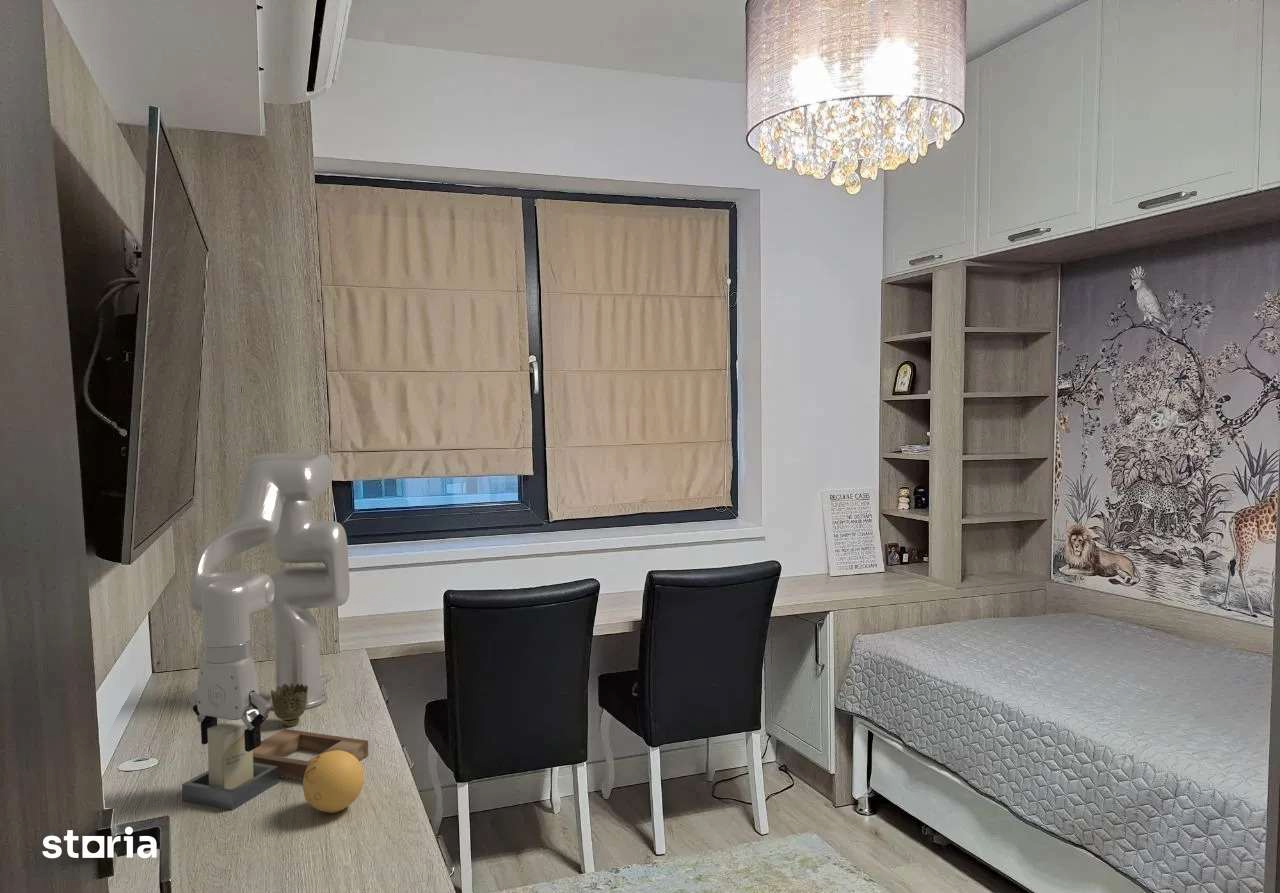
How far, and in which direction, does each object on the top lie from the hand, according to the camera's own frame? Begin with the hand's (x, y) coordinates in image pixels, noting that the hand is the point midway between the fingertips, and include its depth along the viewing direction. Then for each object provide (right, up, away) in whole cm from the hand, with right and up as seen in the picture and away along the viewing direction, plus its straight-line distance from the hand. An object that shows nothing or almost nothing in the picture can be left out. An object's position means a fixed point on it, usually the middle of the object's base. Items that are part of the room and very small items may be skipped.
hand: (231, 744), depth 151 cm
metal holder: (0, -8, 0) cm, 8 cm away
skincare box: (0, -9, 0) cm, 9 cm away
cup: (-2, -7, +31) cm, 32 cm away
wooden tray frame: (+8, -8, +12) cm, 16 cm away
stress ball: (+21, -9, -7) cm, 24 cm away
